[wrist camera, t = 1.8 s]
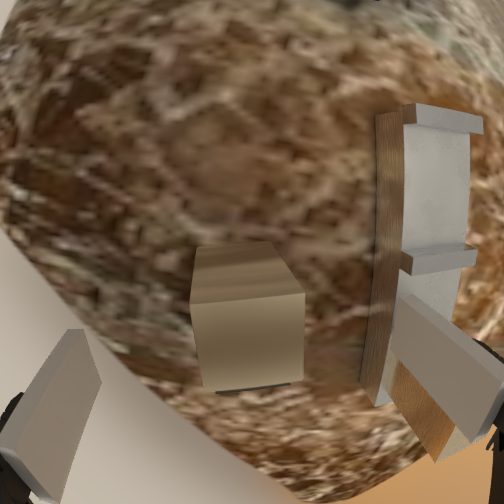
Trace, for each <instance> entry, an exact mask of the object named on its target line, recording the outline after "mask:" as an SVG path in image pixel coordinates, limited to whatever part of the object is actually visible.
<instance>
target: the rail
mask: <svg viewBox="0 0 504 504" xmlns="http://www.w3.org/2000/svg"><path fill="white" fill-rule="evenodd" d="M402 109H403V110H401V111H395V112H389V113H383V114H378V115H375V129H376V160H377V202H376V233H375V252H374V266H373V279H372V290H371V300H370V309H369V318H368V326H367V333H366V341H365V348H364V354H363V361H362V367H361V373H360V378H359V382H360V384H361V386H362V387H363V389H364V390H365V392H366V394H367V395H368V397H369V398H370V400H371V402H372V403H373V405H374V406H375V407H376V406H379V405H383V404H386V403H390V402H394V403H395V405H396V406H397V408H398V409H399V411H400V412H401V414H402V415H403V417H404V418H405V419H406V421H407V422H408V424H409V425H410V427H411V428H412V430H413V431H414V433H415V434H416V436H417V437H418V439H419V440H420V442H421V443H422V444H423V446H424V447H425V449H426V450H427V452H428V453H429V455H430V456H431V458H432V459H433V461H434V462H435V463H437V462H439V461H441V460H443V459H445V458H447V457H449V456H451V455H453V454H455V453H457V452H459V451H460V450H462V449H464V448H466V447H468V446H470V445H471V443H470V442H469V441H468V439H467V438H466V437H465V436H464V435H463V433H462V432H461V431H460V430H459V429H458V427H457V426H456V425H455V424H454V423H453V421H452V420H451V419H450V418H449V417H448V415H447V414H446V413H445V412H444V411H443V410H442V408H441V407H440V406H439V405H438V404H437V403H436V401H435V400H434V399H433V398H432V397H431V396H430V394H429V393H428V392H427V391H426V390H425V389H424V387H423V386H422V385H421V384H420V383H419V382H418V381H417V379H416V378H415V377H414V376H413V375H412V374H411V373H410V371H409V370H408V369H407V368H406V367H405V366H404V365H403V364H402V362H401V361H400V360H399V359H398V358H397V357H396V356H395V355H394V353H393V352H392V351H391V350H390V347H391V342H392V336H393V330H394V323H395V317H396V310H397V302H398V296H403V295H408V294H413V295H415V296H416V297H417V298H419V299H420V300H421V301H423V302H424V303H426V304H427V305H428V306H430V307H431V308H432V309H434V310H435V311H436V312H438V313H439V314H440V315H442V316H443V317H444V318H446V319H447V320H448V321H450V322H451V319H452V314H453V310H454V305H455V300H456V295H457V290H458V285H459V279H460V274H461V268H463V267H469V266H474V265H475V263H476V257H477V250H478V249H477V248H474V247H472V246H470V245H468V244H465V238H466V229H467V218H468V205H469V185H470V134H477V135H483V117H480V116H476V115H472V114H468V113H464V112H459V111H455V110H450V109H445V108H440V107H435V106H430V105H424V104H419V103H413V104H407V105H402ZM483 438H484V437H483ZM481 439H482V438H481ZM478 441H479V440H478ZM476 442H477V441H476ZM474 443H475V442H474Z"/></svg>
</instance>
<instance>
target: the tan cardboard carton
mask: <svg viewBox="0 0 504 504" xmlns="http://www.w3.org/2000/svg"><path fill="white" fill-rule="evenodd" d="M189 306H190V313H191V319H192V326H193V332H194V338H195V344H196V350H197V355H198V361H199V366H200V372H201V377H202V382H203V388H204V392H213V391H215V393H216V394H220V393H231V392H240V391H249V390H258V389H265V388H273V387H280V386H286V385H290V382H295V381H302V380H303V364H304V335H305V292H304V290H303V289H302V287H301V286H300V284H299V283H298V281H297V280H296V278H295V277H294V275H293V274H292V272H291V271H290V269H289V268H288V266H287V265H286V263H285V262H284V260H283V259H282V258H281V256H280V255H279V253H278V252H277V250H276V249H275V247H274V246H273V244H272V243H271V241H258V242H247V243H235V244H224V245H213V246H202V247H197V249H196V256H195V263H194V271H193V278H192V286H191V294H190V302H189Z"/></svg>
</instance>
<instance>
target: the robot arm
mask: <svg viewBox="0 0 504 504" xmlns="http://www.w3.org/2000/svg"><path fill="white" fill-rule="evenodd" d="M390 350H391V351H392V352H393V353H394V355H395V356H396V357H397V358H398V359H399V360H400V361H401V362H402V364H403V365H404V366H405V367H406V368H407V369H408V370H409V371H410V373H411V374H412V375H413V376H414V377H415V378H416V379H417V381H418V382H419V383H420V384H421V385H422V386H423V387H424V389H425V390H426V391H427V392H428V393H429V394H430V396H431V397H432V398H433V399H434V400H435V401H436V403H437V404H438V405H439V406H440V407H441V408H442V410H443V411H444V412H445V413H446V414H447V415H448V417H449V418H450V419H451V420H452V421H453V423H454V424H455V425H456V426H457V427H458V429H459V430H460V431H461V432H462V433H463V435H464V436H465V437H466V438H467V439H468V441H469V442H470V443H471V444H473V443H474V442H476V441H478V440H480V439H481V438H483V437H485V436H486V435H487V433H488V431H489V430H490V428H491V426H492V424H494V425H495V426H496V427H497V429H496V431H495V433H494V434H493V436H492V438H491V440H490V441H489V443H488V445H487V447H486V450H489V448H490V446H491V445H492V443H494V447H493V449H492V451H493V467H492V479H491V488H490V496H489V504H504V358H502V357H501V356H500V357H499V354H497V353H496V352H495V351H492V349H491V348H490V347H488V346H487V345H486V344H485V343H483V342H481V341H478V340H476V339H474V338H470V337H469V336H468V335H467V334H465V333H464V332H463V331H461V330H460V329H459V328H457V327H456V326H455V325H454V324H452V323H451V322H450V321H448V320H447V319H446V318H444V317H443V316H442V315H440V314H439V313H438V312H436V311H435V310H434V309H432V308H431V307H430V306H428V305H427V304H426V303H424V302H423V301H421V300H420V299H419V298H417V297H416V296H415V295H413V294H408V295H403V296H398V302H397V310H396V317H395V323H394V330H393V336H392V342H391V347H390ZM101 383H102V382H101V380H100V377H99V374H98V372H97V369H96V366H95V363H94V360H93V357H92V355H91V352H90V349H89V346H88V343H87V339H86V336H85V333H84V330H83V329H69V330H67V331H66V333H65V334H64V335H63V337H62V338H61V340H60V341H59V342H58V344H57V345H56V347H55V348H54V350H53V351H52V352H51V354H50V355H49V357H48V358H47V360H46V361H45V363H44V364H43V365H42V367H41V368H40V370H39V372H38V373H37V374H36V376H35V377H34V379H33V381H32V382H31V384H30V385H29V387H28V388H27V390H26V392H25V393H23V392H20V393H19V394H18V395H17V396H16V397H14V398H13V399H12V400H11V401H10V403H9V404H8V406H7V407H6V409H5V412H3V414H2V415H1V417H0V504H33V503H32V501H31V500H30V499H29V495H30V492H31V491H32V492H33V493H34V494H35V495H36V496H37V497H38V498H39V499H40V500H42V501H45V502H49V503H53V504H60V501H61V498H62V495H63V491H64V488H65V485H66V481H67V478H68V474H69V472H70V469H71V465H72V462H73V459H74V456H75V453H76V450H77V447H78V444H79V442H80V439H81V436H82V433H83V430H84V427H85V425H86V422H87V419H88V417H89V414H90V411H91V409H92V406H93V404H94V401H95V398H96V396H97V393H98V391H99V388H100V386H101Z"/></svg>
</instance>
